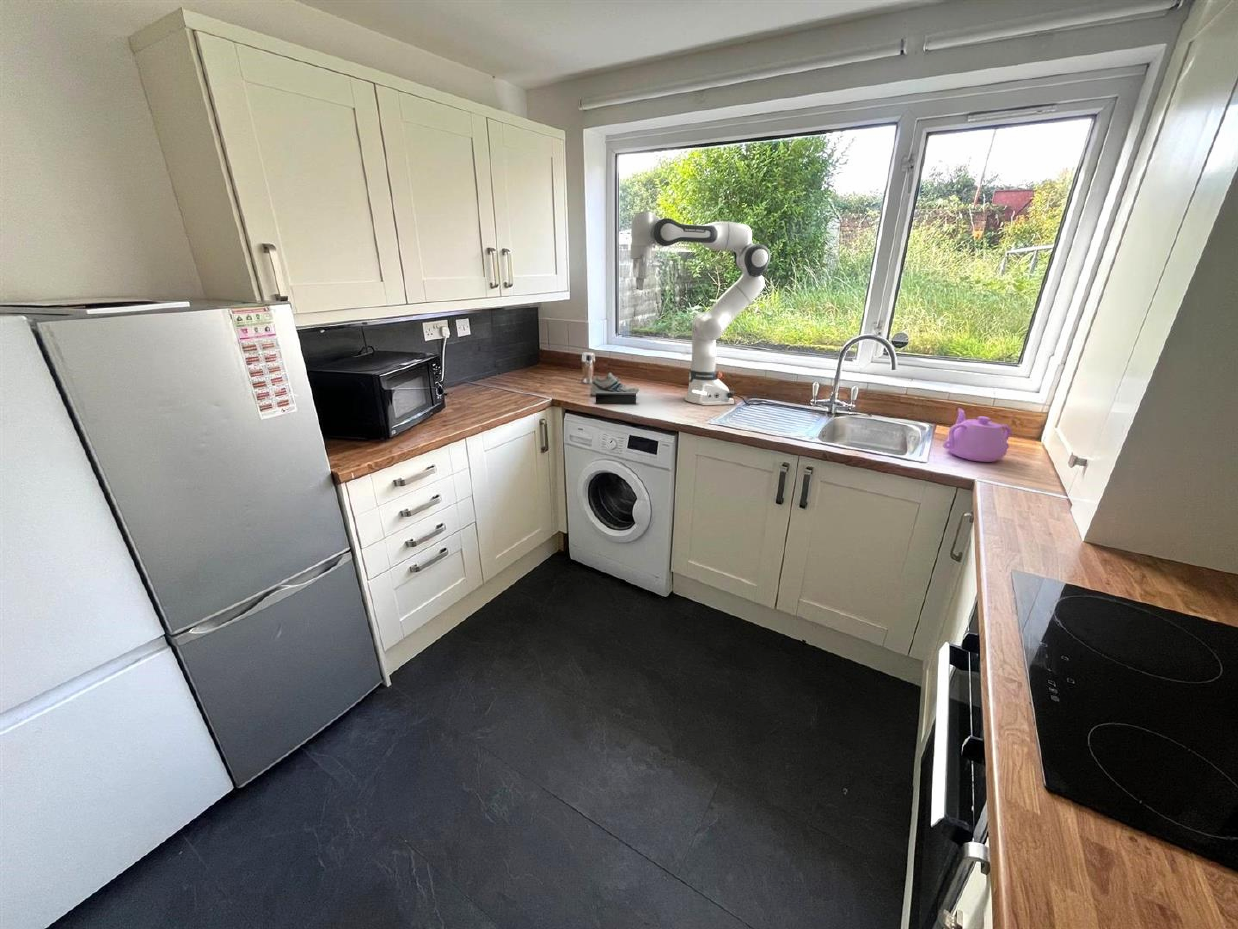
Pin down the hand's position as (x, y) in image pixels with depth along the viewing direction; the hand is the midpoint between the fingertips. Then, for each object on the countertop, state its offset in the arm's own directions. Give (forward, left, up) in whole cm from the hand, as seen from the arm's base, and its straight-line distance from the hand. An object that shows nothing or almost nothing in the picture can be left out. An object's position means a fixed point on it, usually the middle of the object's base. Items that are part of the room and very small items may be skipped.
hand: (639, 289), depth 213 cm
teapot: (-109, +70, -48) cm, 139 cm away
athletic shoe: (+9, -6, -48) cm, 49 cm away
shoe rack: (+9, +8, -48) cm, 50 cm away
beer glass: (+21, -35, -48) cm, 63 cm away
